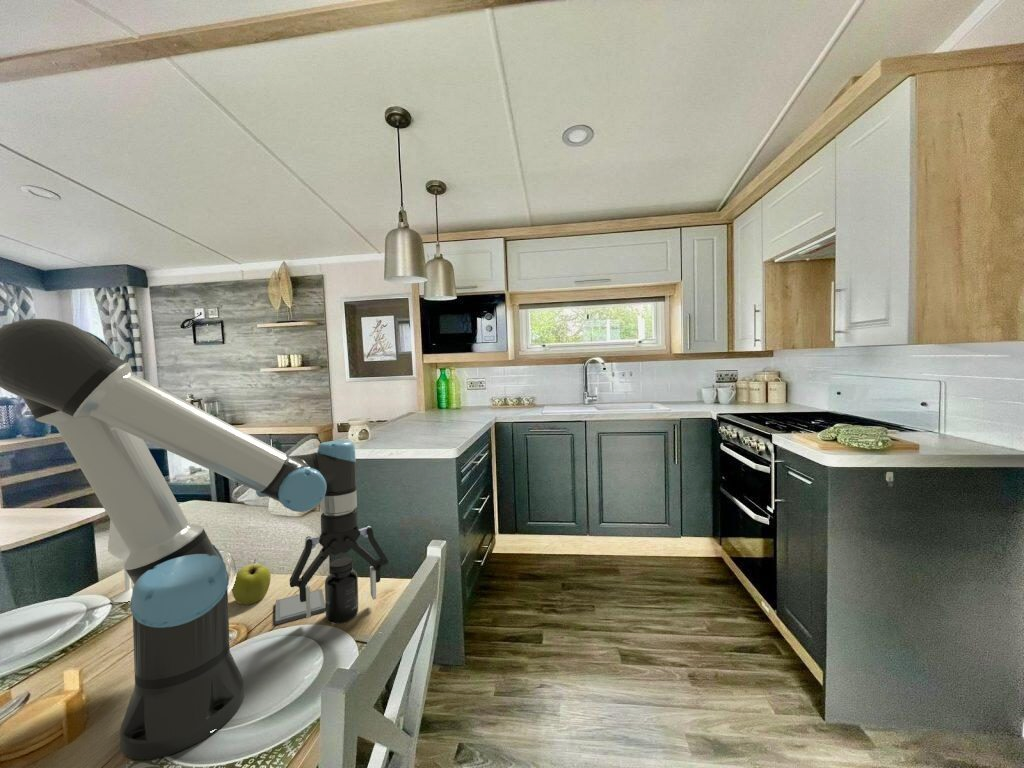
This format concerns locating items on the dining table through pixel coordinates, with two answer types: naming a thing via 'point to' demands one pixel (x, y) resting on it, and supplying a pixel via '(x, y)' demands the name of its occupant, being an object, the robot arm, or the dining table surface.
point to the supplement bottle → (341, 591)
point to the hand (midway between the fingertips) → (342, 605)
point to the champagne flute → (121, 552)
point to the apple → (251, 583)
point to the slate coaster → (298, 607)
